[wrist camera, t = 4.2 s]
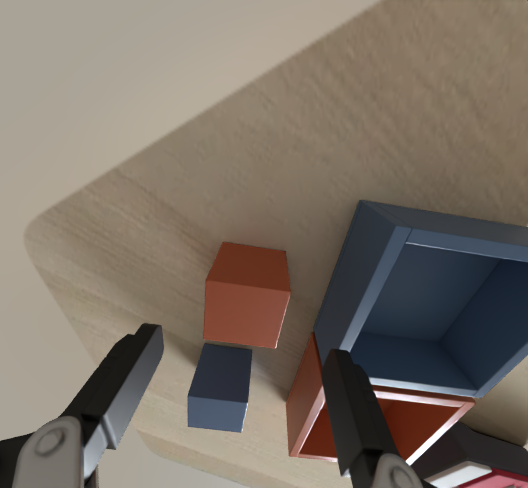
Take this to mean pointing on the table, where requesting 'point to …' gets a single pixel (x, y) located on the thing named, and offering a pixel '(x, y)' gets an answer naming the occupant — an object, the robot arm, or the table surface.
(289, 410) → the terracotta bin
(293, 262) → the table surface
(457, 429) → the calculator
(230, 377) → the blue block
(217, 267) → the terracotta block
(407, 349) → the blue bin
